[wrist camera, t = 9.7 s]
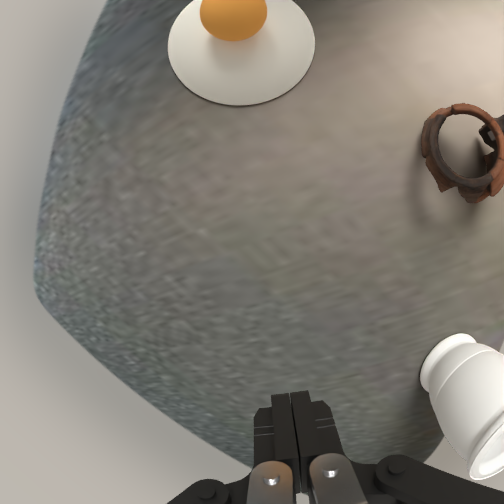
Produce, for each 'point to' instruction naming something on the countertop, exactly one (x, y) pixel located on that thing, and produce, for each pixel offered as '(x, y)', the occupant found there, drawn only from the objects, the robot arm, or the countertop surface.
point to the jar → (468, 400)
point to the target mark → (243, 56)
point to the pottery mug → (498, 162)
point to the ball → (233, 18)
